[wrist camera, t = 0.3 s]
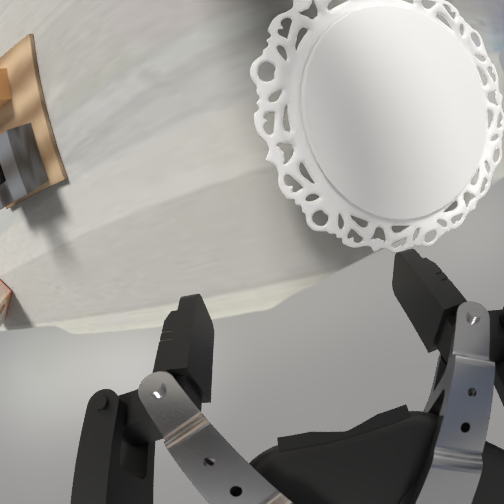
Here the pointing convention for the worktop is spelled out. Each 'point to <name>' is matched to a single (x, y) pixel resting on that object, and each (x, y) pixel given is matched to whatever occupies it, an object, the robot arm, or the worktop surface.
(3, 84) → the block
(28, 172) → the bearing block
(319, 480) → the robot arm
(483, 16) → the worktop surface
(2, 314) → the cracker box
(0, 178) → the steel shaft
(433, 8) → the white openwork bowl
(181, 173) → the worktop surface
